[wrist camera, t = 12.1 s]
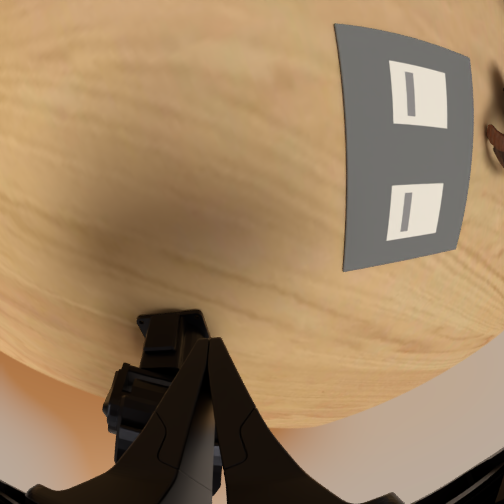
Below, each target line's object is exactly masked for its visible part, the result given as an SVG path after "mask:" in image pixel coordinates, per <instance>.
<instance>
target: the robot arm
mask: <svg viewBox="0 0 504 504" xmlns="http://www.w3.org/2000/svg"><path fill="white" fill-rule="evenodd" d="M195 315H198V316H195ZM136 322H137V324H138V326H139V328H140V330H141V331H142V333H143V335H144V337H145V342H144V346H143V354H142V358H141V362H140V367H139V368H138V367H135V366H131V365H130V364H128V363H125V362H124V363H123V366H122V369H119V371H116V372H115V376H114V380H113V383H112V387H111V389H110V391H109V393H108V395H107V398H106V400H105V402H104V404H103V409H102V410H103V412H104V414H105V415H106V417H107V423H108V431H109V432H110V433H113V434H116V443H115V456H114V461H115V465H114V466H113V467H112V468H111V469H110V470H108V471H107V472H105V473H103V474H101V475H99V476H97V477H95V478H93V479H90V480H89V481H86V482H84V483H81V484H79V485H77V486H74V487H72V488H69V489H66V490H61V491H55V490H51V489H49V488H47V487H45V486H43V485H41V484H37V485H35V486H33V487H32V488H30V489H29V490H28V491H27V493H25V492H23V491H21V490H19V489H17V488H15V487H13V486H11V485H9V484H7V483H6V482H4V481H2V480H0V504H212V496H214V494H215V493H216V492H217V491H218V489H219V488H220V486H221V472H222V466H223V470H224V476H225V483H226V495H227V504H352V503H348V502H346V501H344V500H342V499H340V498H339V497H338V496H336V495H335V494H333V493H332V492H330V491H329V490H328V489H326V488H325V487H323V486H322V485H321V484H319V483H318V482H316V481H315V480H314V479H313V478H311V477H310V476H309V475H308V474H307V473H305V471H304V470H303V469H302V468H300V466H299V465H298V464H297V463H296V462H295V461H294V460H293V459H292V457H291V456H290V455H289V454H288V452H287V451H286V450H285V449H284V448H283V446H282V445H281V444H280V443H279V442H278V440H277V439H276V438H275V437H274V435H273V434H272V432H271V431H270V430H269V428H268V427H267V425H266V423H265V422H264V420H263V418H262V417H261V415H260V413H259V411H258V409H257V408H256V406H255V404H254V402H253V400H252V398H251V396H250V395H249V393H248V391H247V389H246V387H245V385H244V383H243V381H242V379H241V377H240V375H239V373H238V371H237V369H236V367H235V365H234V363H233V361H232V359H231V357H230V355H229V353H228V351H227V349H226V346H225V344H224V342H223V340H222V338H221V337H216V338H211V337H210V334H209V331H208V328H207V325H206V322H205V319H204V316H203V313H202V312H201V311H199V310H193V311H184V312H175V313H165V314H155V315H144V316H139V317H138V318H137V321H136ZM360 504H404V503H403V501H402V500H400V498H399V497H398V496H396V494H395V493H393V492H391V493H388V494H386V495H383V496H381V497H378V498H376V499H373V500H370V501H367V502H364V503H360ZM411 504H504V448H502V449H500V450H499V451H498V452H496V453H495V454H493V455H492V456H490V457H488V458H487V459H485V460H484V461H482V462H480V463H479V464H478V465H476V466H474V467H473V468H471V469H469V470H468V471H466V472H465V473H463V474H462V475H460V476H458V477H457V478H455V479H454V480H452V481H451V482H449V483H448V484H446V485H444V486H443V487H441V488H439V489H437V490H436V491H434V492H432V493H430V494H428V495H427V496H425V497H423V498H421V499H419V500H417V501H415V502H413V503H411Z"/></svg>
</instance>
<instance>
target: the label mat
mask: <svg viewBox="0 0 504 504" xmlns="http://www.w3.org/2000/svg"><path fill="white" fill-rule="evenodd" d="M334 27H335V33H336V40H337V46H338V54H339V61H340V69H341V78H342V89H343V100H344V114H345V131H346V164H347V196H346V229H345V247H344V262H343V272H347V271H352V270H357V269H363V268H368V267H373V266H378V265H384V264H389V263H394V262H399V261H403V260H408V259H413V258H418V257H423V256H427V255H432V254H436V253H441V252H445V251H450V250H454V249H456V246H457V242H458V238H459V234H460V230H461V226H462V221H463V216H464V211H465V206H466V200H467V194H468V187H469V180H470V172H471V162H472V149H473V126H474V108H473V86H472V74H471V65H470V58H468V57H466V56H464V55H461V54H459V53H456V52H454V51H451V50H449V49H446V48H443V47H440V46H437V45H434V44H431V43H428V42H425V41H422V40H418V39H415V38H411V37H408V36H404V35H400V34H396V33H391V32H387V31H382V30H377V29H372V28H366V27H360V26H353V25H345V24H336V23H335V24H334Z"/></svg>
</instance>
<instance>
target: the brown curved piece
mask: <svg viewBox="0 0 504 504" xmlns="http://www.w3.org/2000/svg"><path fill="white" fill-rule="evenodd" d="M503 91H504V89H503ZM487 137H488V139H489V140H490V143H491V144H492V145H494V148H493V150H494V152H495V154H496V156H497V158H498V160H499V162H500V163H501V165H502V166H503V168H504V135H503V134H502V133H500V132H499V131H497V130H496V128H495V127H494V126H493V125H488V129H487Z"/></svg>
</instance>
